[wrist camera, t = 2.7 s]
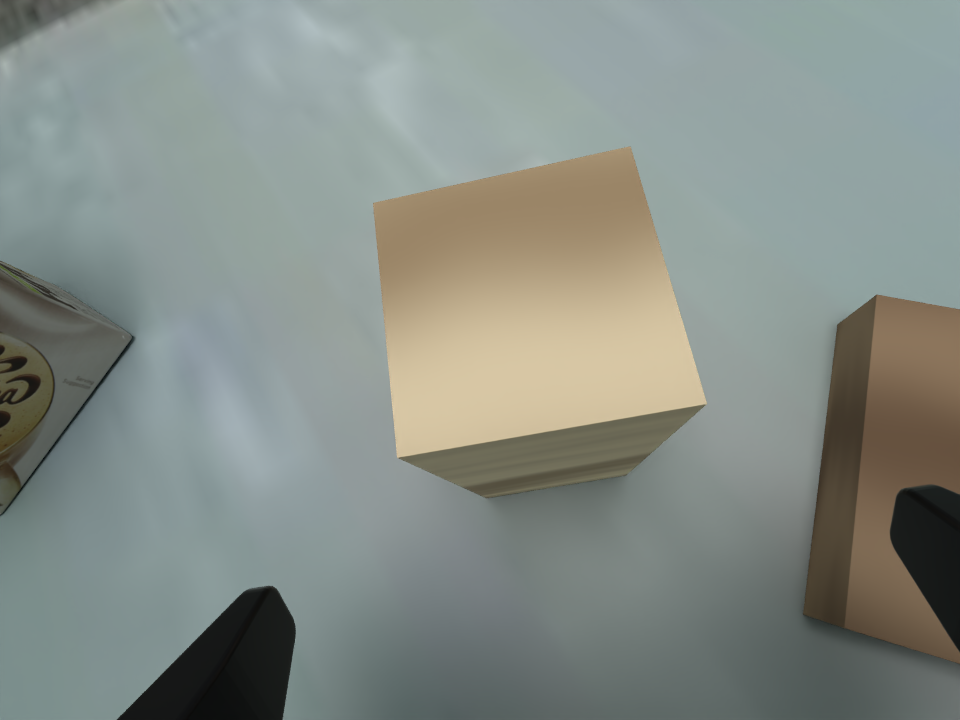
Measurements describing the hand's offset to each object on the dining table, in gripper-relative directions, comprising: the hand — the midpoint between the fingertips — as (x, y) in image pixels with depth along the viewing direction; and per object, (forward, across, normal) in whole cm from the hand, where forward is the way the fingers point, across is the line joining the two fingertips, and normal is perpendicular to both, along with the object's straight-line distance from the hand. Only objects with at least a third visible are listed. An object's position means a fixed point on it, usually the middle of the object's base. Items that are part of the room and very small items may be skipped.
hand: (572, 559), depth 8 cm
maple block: (+11, 0, +5) cm, 12 cm away
